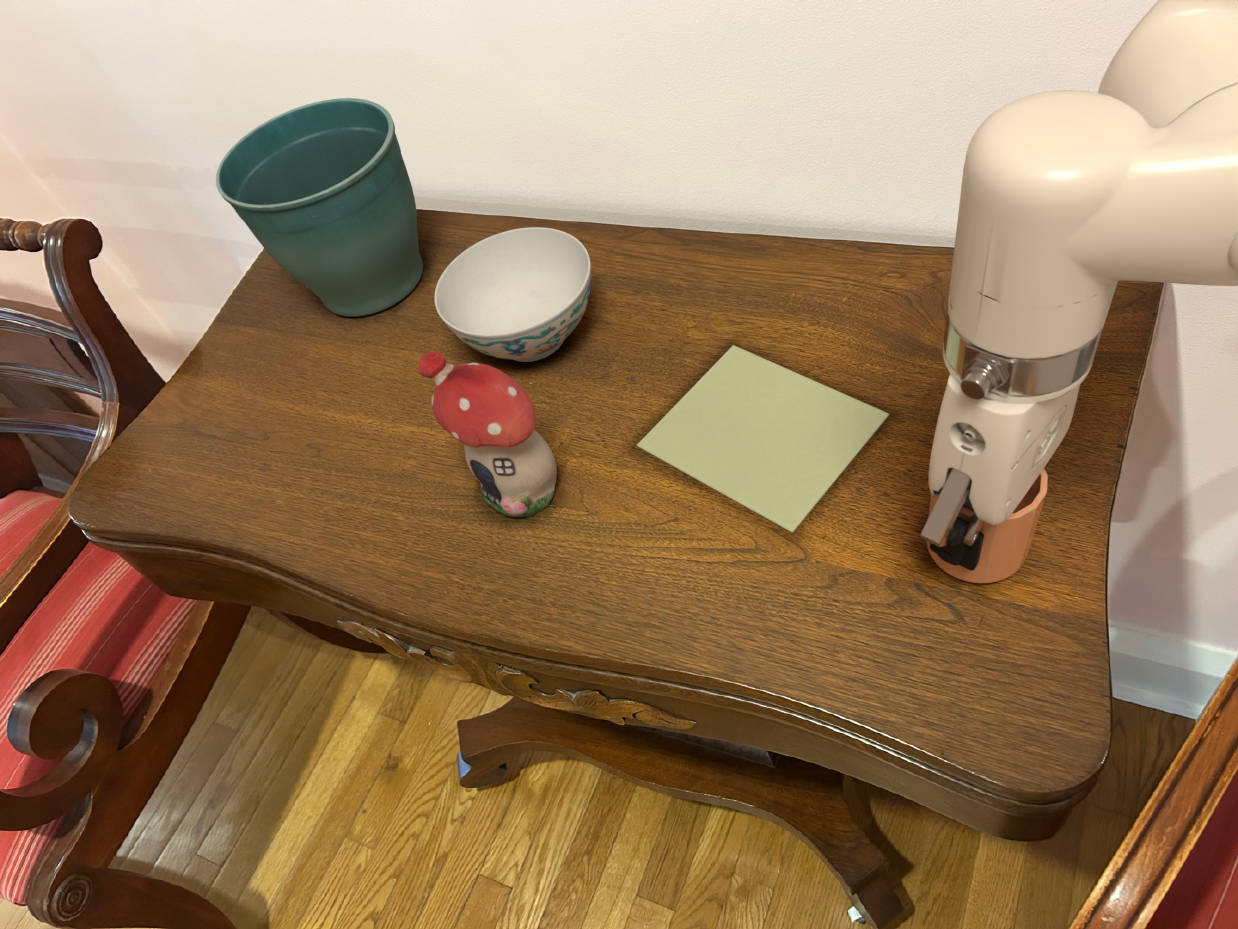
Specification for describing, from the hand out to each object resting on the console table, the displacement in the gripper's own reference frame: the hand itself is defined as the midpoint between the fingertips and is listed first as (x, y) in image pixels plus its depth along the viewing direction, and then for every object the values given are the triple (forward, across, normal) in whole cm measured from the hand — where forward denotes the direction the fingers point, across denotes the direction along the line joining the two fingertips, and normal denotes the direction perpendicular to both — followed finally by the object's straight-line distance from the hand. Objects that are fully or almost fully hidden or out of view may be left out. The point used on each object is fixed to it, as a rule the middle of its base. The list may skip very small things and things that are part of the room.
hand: (981, 517), depth 59 cm
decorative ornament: (+3, -15, +33) cm, 37 cm away
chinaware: (+3, -1, +45) cm, 46 cm away
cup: (+3, 0, 0) cm, 3 cm away
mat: (+4, +1, +19) cm, 20 cm away
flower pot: (+3, -4, +68) cm, 69 cm away
